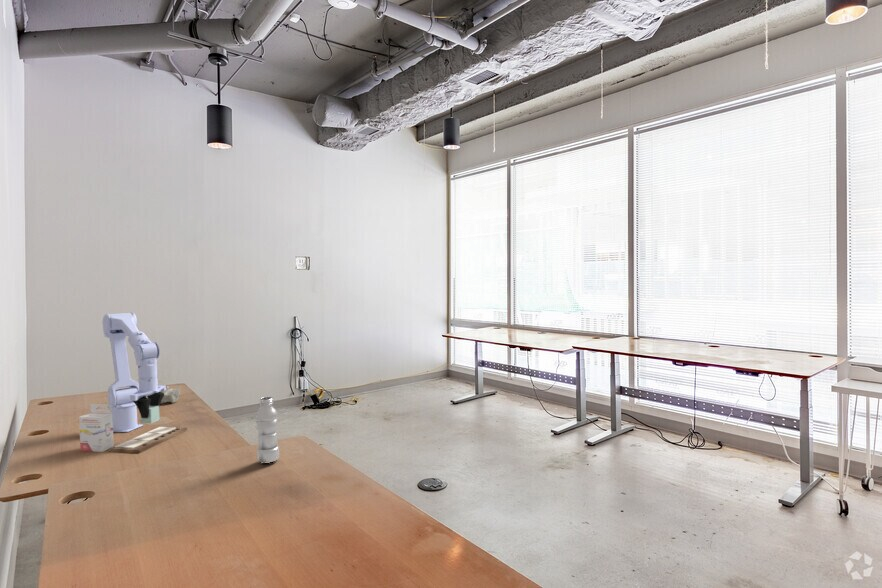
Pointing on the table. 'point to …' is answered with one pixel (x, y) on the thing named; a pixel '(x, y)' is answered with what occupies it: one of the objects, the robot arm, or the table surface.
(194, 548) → the table surface
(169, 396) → the ceramic sculpture
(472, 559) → the table surface
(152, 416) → the sage block
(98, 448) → the ink cartridge box
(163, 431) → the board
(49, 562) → the table surface
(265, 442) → the plastic bottle
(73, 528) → the table surface
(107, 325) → the robot arm
